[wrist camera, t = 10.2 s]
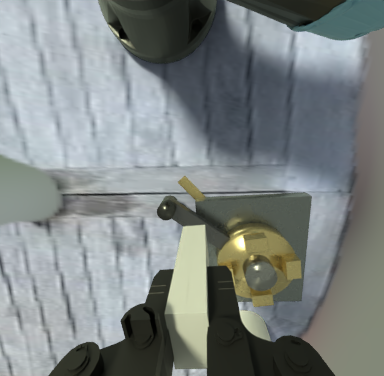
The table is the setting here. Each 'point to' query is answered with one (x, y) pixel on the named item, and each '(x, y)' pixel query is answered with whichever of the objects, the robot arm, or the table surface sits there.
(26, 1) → the table surface
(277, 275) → the ring nut
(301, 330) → the table surface
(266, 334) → the cylinder container
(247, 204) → the collar plate
